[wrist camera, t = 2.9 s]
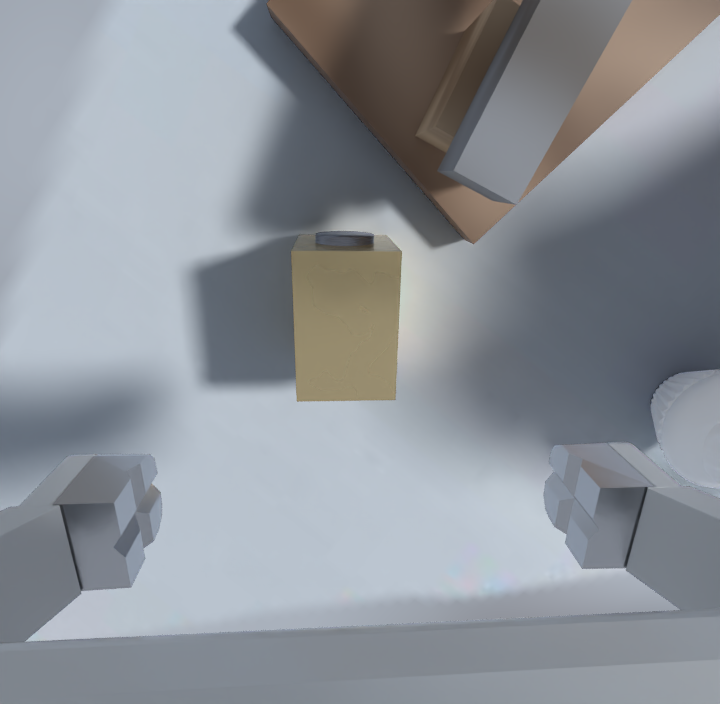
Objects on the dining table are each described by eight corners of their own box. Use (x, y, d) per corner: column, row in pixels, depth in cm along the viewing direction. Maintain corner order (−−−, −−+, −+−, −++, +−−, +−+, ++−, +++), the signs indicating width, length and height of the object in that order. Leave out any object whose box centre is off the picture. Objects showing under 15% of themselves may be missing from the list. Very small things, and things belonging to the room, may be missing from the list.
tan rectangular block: (299, 227, 21) (290, 242, 17) (386, 228, 22) (402, 243, 17) (303, 362, 24) (297, 408, 19) (382, 361, 24) (395, 406, 19)
